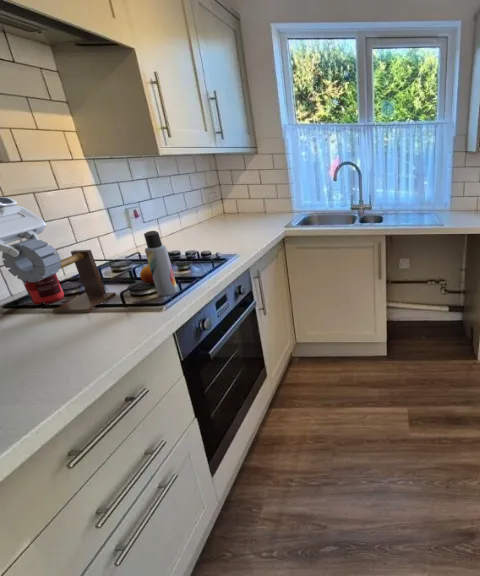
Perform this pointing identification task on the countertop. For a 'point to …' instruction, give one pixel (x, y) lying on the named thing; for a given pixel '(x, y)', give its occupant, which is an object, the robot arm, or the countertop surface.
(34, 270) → the grey gear
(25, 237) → the robot arm
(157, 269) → the lotion bottle
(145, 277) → the fruit
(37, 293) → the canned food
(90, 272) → the hook stand
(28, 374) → the countertop surface
